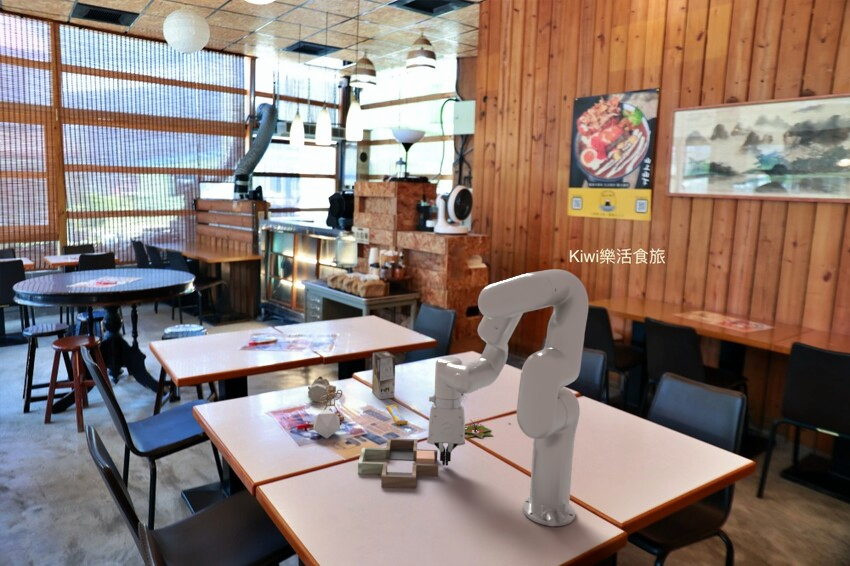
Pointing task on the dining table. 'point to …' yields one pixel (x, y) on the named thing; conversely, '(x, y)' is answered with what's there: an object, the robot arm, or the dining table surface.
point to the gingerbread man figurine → (331, 399)
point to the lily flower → (481, 430)
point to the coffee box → (383, 375)
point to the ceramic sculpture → (319, 389)
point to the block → (425, 457)
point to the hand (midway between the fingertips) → (445, 463)
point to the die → (326, 423)
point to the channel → (396, 451)
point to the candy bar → (396, 414)
